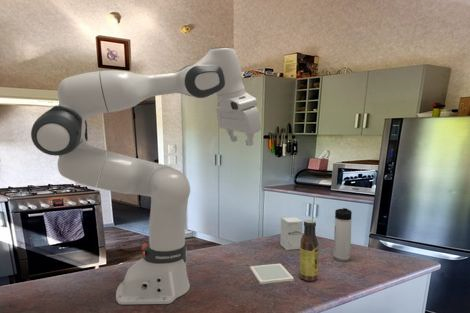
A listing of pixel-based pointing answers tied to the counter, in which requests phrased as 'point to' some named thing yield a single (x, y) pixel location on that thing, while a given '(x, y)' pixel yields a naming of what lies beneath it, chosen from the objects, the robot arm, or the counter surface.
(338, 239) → the travel mug
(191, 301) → the counter surface
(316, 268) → the sauce bottle
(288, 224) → the supplement box
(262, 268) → the tile
